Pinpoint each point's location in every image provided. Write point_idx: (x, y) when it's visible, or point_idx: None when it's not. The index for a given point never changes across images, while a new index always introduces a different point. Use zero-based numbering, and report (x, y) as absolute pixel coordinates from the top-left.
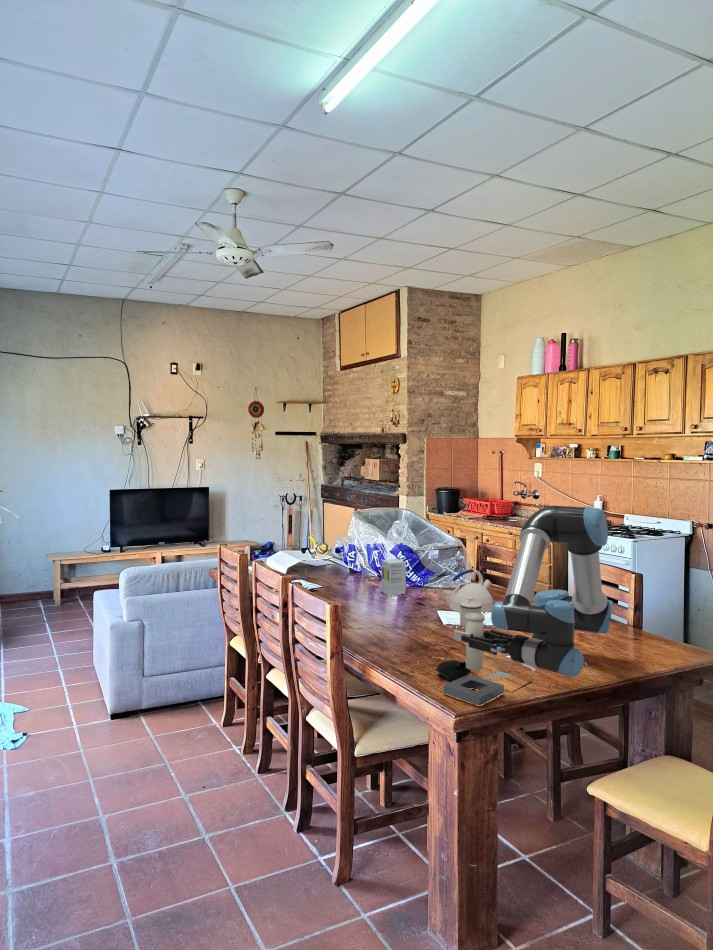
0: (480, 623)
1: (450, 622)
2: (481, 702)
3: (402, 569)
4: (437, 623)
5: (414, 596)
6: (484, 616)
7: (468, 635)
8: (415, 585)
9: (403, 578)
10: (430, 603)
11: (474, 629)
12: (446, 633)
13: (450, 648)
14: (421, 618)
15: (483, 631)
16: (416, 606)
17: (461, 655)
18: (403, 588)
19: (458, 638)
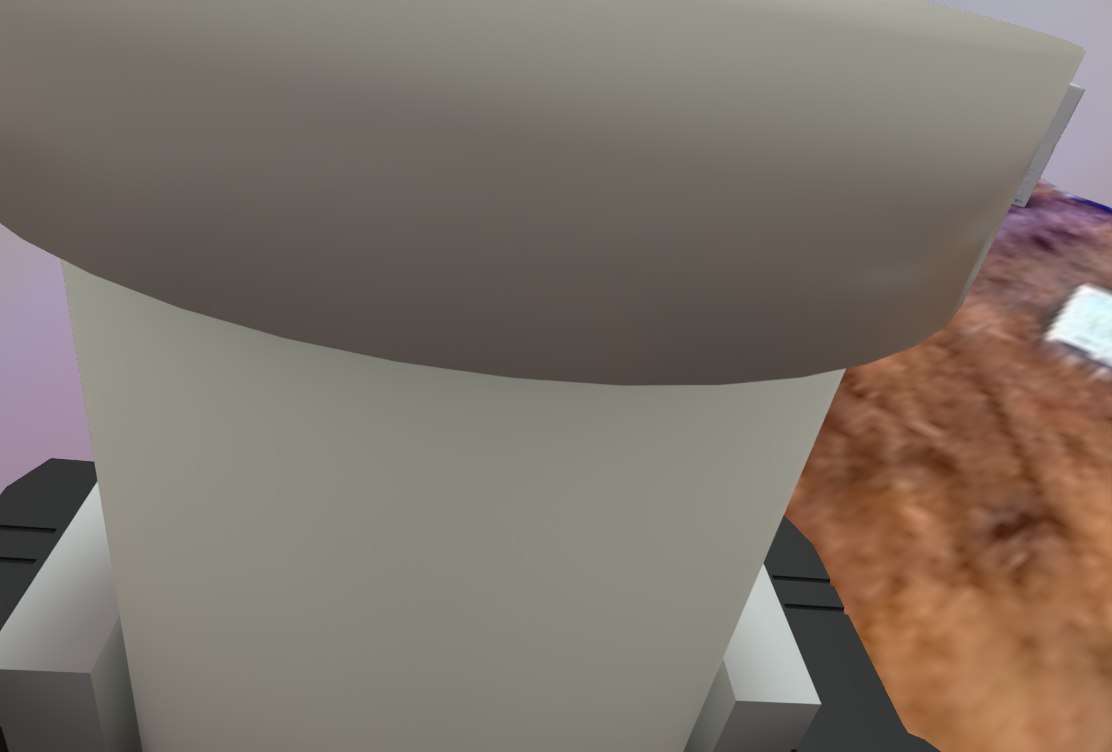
0: (350, 430)
1: (1091, 344)
2: None
3: (1057, 112)
4: (1022, 322)
5: (1052, 222)
6: (969, 57)
7: (59, 576)
8: (1098, 204)
9: (1045, 147)
10: (1086, 257)
11: (108, 533)
12: (1008, 376)
13: (923, 456)
14: (976, 279)
15: (784, 715)
16: (1016, 244)
17: (931, 536)
18: (1027, 183)
19: None
